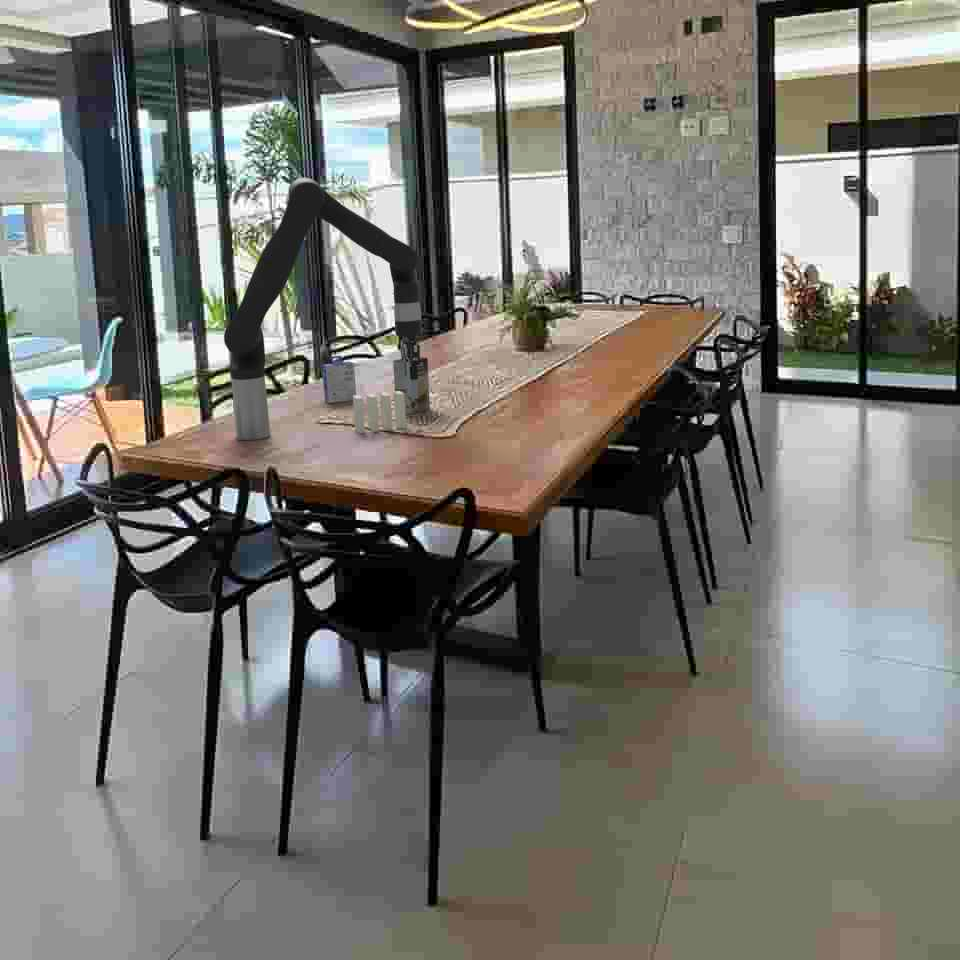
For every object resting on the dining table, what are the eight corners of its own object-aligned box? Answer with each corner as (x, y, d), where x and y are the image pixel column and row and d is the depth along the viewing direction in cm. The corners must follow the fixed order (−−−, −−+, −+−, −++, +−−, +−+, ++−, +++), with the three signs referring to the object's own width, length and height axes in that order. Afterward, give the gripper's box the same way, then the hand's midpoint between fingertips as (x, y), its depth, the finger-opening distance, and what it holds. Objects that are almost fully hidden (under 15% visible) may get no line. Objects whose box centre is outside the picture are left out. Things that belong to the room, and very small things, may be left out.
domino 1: (358, 433, 310) (356, 398, 307) (355, 429, 315) (352, 395, 312) (365, 432, 311) (362, 398, 308) (361, 429, 315) (358, 395, 313)
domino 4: (400, 428, 314) (397, 394, 311) (395, 425, 318) (393, 391, 316) (406, 428, 314) (404, 393, 311) (401, 424, 319) (399, 390, 316)
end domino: (413, 395, 318) (411, 361, 315) (418, 398, 313) (416, 363, 310) (407, 395, 317) (405, 361, 314) (412, 398, 312) (409, 364, 310)
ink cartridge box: (352, 397, 362) (349, 353, 358) (357, 400, 357) (354, 355, 354) (323, 401, 358) (320, 357, 354) (328, 403, 354) (325, 359, 350)
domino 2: (372, 431, 311) (370, 397, 309) (368, 428, 316) (366, 394, 313) (378, 431, 312) (376, 396, 309) (375, 427, 316) (372, 393, 314)
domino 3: (386, 430, 312) (384, 395, 310) (382, 426, 317) (380, 392, 314) (392, 429, 313) (390, 395, 310) (388, 426, 318) (386, 392, 315)
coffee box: (410, 414, 332) (407, 362, 327) (395, 412, 336) (392, 360, 331) (430, 409, 339) (428, 357, 334) (415, 407, 343) (412, 356, 338)
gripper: (427, 319, 304) (431, 380, 308) (414, 314, 317) (417, 373, 321) (401, 322, 301) (405, 383, 306) (388, 316, 315) (392, 375, 319)
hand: (411, 377), depth 314 cm, fingers closed on end domino, 5 cm apart
